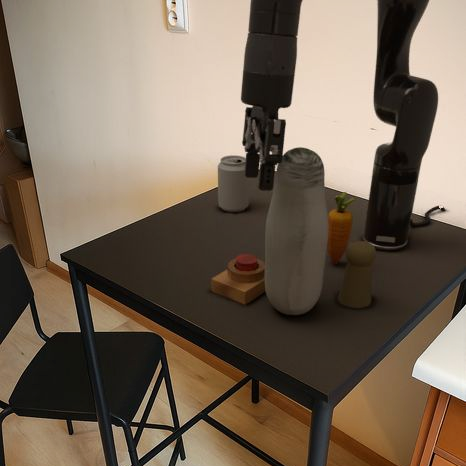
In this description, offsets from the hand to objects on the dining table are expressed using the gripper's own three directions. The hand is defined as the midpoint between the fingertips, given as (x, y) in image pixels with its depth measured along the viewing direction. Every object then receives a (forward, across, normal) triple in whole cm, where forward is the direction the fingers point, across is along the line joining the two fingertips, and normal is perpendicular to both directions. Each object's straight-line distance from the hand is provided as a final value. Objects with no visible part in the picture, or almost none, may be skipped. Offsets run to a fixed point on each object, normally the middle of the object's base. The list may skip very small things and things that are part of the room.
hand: (257, 183), depth 93 cm
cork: (+21, +1, -21) cm, 29 cm away
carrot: (+19, +15, -22) cm, 33 cm away
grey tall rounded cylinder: (+22, 0, -9) cm, 24 cm away
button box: (+22, +10, -3) cm, 24 cm away
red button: (+18, +9, -2) cm, 20 cm away
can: (+17, +49, -9) cm, 52 cm away
